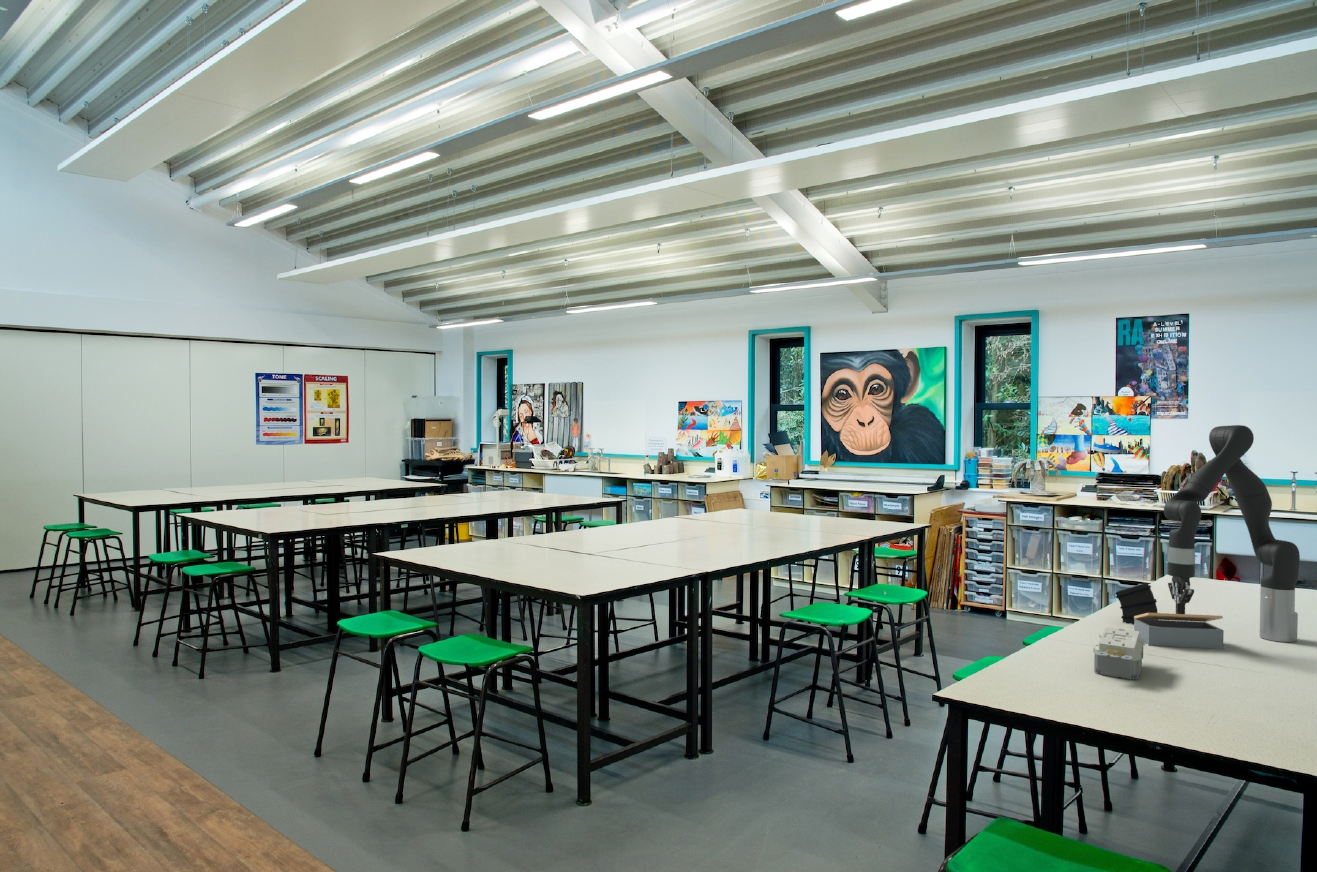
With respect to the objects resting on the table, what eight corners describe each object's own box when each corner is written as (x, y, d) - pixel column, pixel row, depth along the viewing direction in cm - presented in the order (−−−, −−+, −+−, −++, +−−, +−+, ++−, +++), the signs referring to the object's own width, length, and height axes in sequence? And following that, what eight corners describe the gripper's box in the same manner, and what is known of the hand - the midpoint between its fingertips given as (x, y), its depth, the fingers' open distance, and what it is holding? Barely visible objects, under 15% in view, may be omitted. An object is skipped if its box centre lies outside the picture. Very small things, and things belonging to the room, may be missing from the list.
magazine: (1167, 624, 284) (1147, 583, 288) (1128, 634, 291) (1109, 594, 295) (1169, 622, 287) (1148, 581, 291) (1130, 632, 294) (1110, 593, 298)
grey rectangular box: (1205, 640, 269) (1205, 622, 269) (1223, 648, 258) (1223, 630, 258) (1134, 636, 272) (1134, 618, 272) (1148, 645, 261) (1149, 626, 261)
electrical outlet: (1146, 659, 242) (1146, 627, 242) (1138, 690, 219) (1138, 654, 218) (1101, 653, 249) (1102, 621, 248) (1089, 682, 226) (1090, 647, 225)
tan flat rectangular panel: (1205, 621, 269) (1205, 619, 269) (1222, 618, 259) (1222, 615, 259) (1134, 618, 272) (1134, 616, 273) (1148, 615, 262) (1148, 612, 262)
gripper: (1204, 565, 256) (1203, 619, 256) (1183, 558, 269) (1182, 610, 270) (1178, 564, 258) (1177, 618, 258) (1159, 557, 271) (1158, 609, 271)
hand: (1180, 614), depth 264 cm, fingers closed
